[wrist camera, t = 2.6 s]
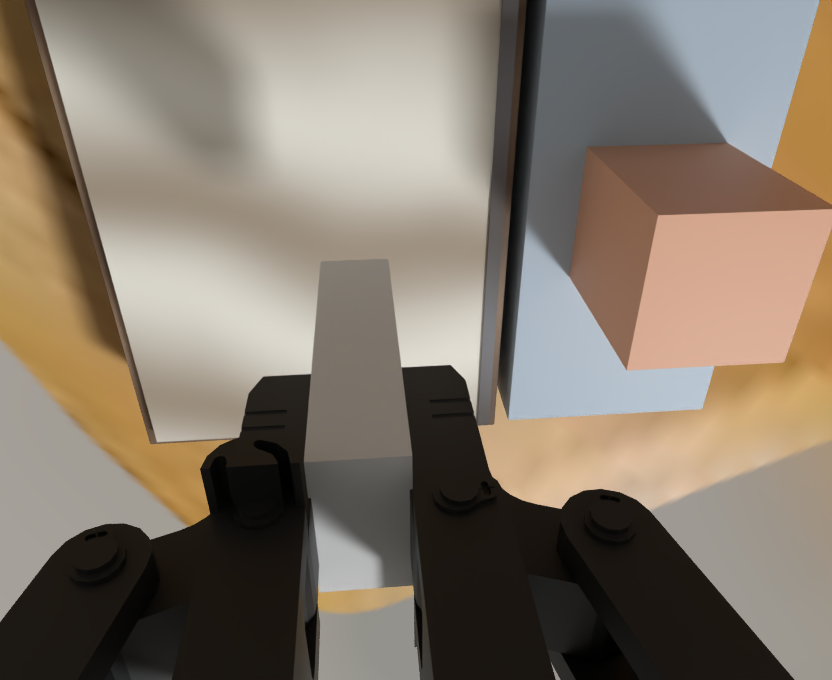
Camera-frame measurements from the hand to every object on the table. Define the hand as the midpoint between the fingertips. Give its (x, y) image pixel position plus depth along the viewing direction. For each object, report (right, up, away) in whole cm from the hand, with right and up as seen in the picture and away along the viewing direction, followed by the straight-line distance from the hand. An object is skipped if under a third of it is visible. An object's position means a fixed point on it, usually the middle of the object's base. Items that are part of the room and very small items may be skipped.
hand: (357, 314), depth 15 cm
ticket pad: (-2, +5, +7) cm, 8 cm away
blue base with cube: (+8, +5, +7) cm, 12 cm away
